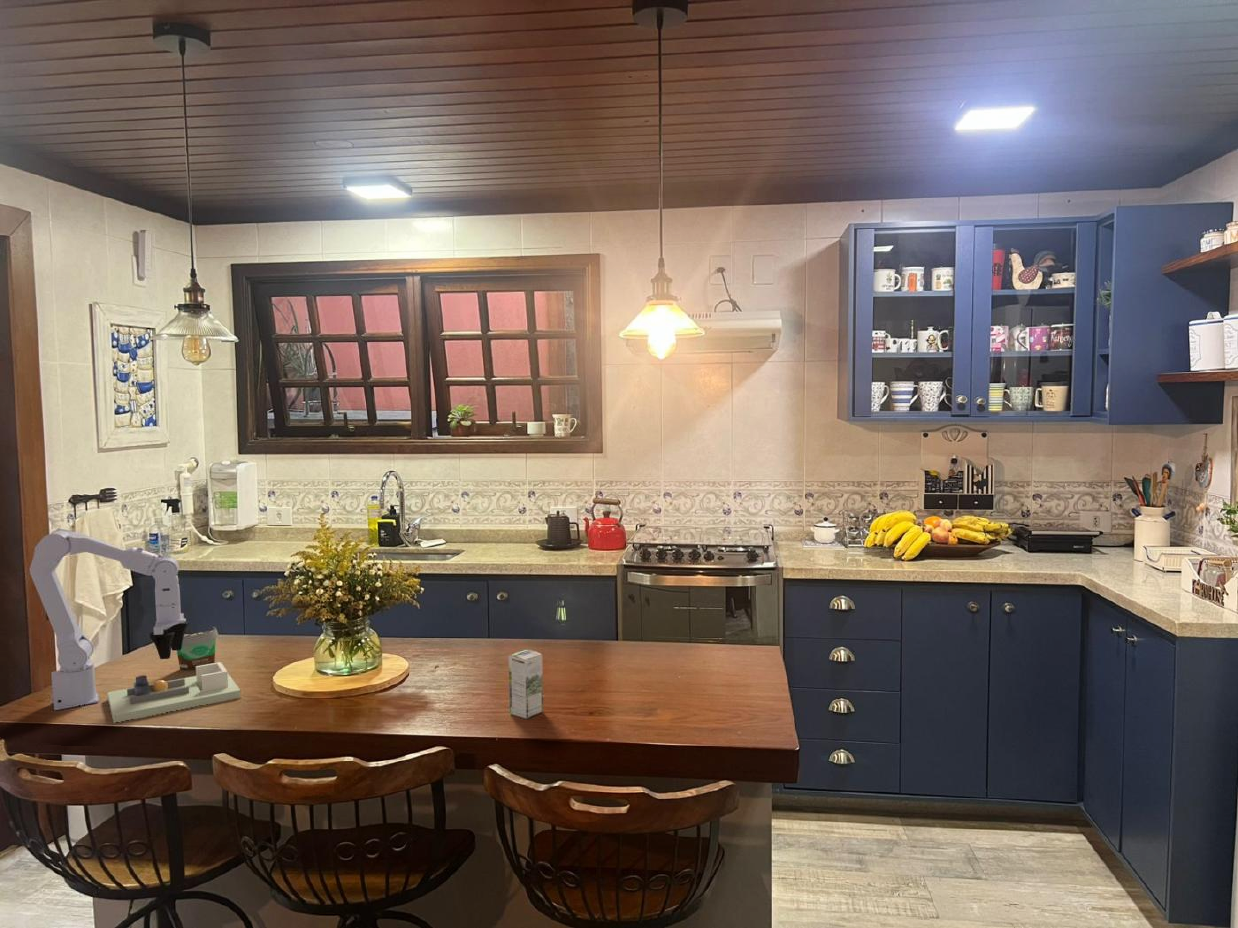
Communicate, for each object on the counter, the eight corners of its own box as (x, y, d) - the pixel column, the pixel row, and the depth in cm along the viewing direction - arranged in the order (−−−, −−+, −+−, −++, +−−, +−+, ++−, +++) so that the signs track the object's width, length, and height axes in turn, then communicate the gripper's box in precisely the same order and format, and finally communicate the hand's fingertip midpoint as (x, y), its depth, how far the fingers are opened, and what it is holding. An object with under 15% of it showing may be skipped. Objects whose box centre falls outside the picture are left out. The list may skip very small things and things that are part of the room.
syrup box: (526, 707, 205) (524, 648, 204) (544, 712, 201) (542, 652, 200) (509, 714, 201) (507, 654, 200) (527, 719, 197) (525, 658, 196)
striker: (136, 700, 210) (135, 681, 209) (134, 694, 214) (133, 674, 214) (150, 698, 211) (149, 678, 211) (148, 691, 216) (146, 672, 216)
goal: (202, 691, 216) (201, 676, 216) (196, 681, 224) (195, 666, 224) (228, 686, 219) (227, 671, 219) (221, 676, 228) (220, 661, 227)
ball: (153, 697, 213) (152, 683, 212) (151, 693, 216) (151, 679, 215) (169, 694, 215) (168, 680, 214) (167, 690, 218) (166, 676, 217)
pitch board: (113, 723, 201) (112, 708, 201) (107, 699, 217) (106, 686, 217) (240, 697, 217) (240, 683, 216) (226, 677, 233) (225, 664, 233)
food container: (185, 674, 236) (182, 639, 236) (174, 670, 240) (172, 636, 239) (228, 663, 246) (226, 629, 245) (217, 659, 250) (215, 626, 249)
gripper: (173, 609, 216) (176, 661, 217) (194, 596, 230) (197, 645, 231) (143, 610, 215) (146, 663, 216) (167, 597, 230) (169, 646, 231)
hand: (171, 654), depth 224 cm, fingers open, 7 cm apart
